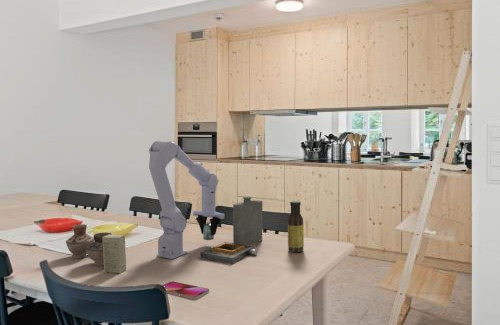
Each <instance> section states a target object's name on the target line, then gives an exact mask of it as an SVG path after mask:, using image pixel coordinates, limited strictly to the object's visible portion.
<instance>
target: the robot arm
mask: <svg viewBox="0 0 500 325" xmlns="http://www.w3.org/2000/svg"><path fill="white" fill-rule="evenodd" d="M148 153H149V160H148V161H149V164H148V168H149V172H150V175H151V179H152V182H153V184H154V187H155V191H156V195H157V198H158V201H159V205H160V207H161V210H160V211H159V217H160V218H159V225H160V227H161V228H162V230H163V233H162V234H161V235H160V236H159V237H158V239H157V254H156V257H159V258H166V259H171V260H174V259H176V258H178V257H181V256H183V255H186V254H188V251H186V250H184V246H183V245H184V238H183V236H184V230H185V229H186V228H187V219H186V217H185V216H184V215H183V213H182V211H181V209H180V208H178V207H177V204H176V201H175V198H174V194H173V190H172V187H171V183H170V180H169V177H168V174H167V170H166V167H167V166H168V165H169V164H170V162H172V160H174V159H175V160H176V161H178V163H180V164H181V165H183V166H184V167H186V168H187V169H188V173H189V175H191V176H192V177H193V178H194V179H196V180H197V181H198V184H199V186H201V210H193V211H192V216H194V217H196V218H195V220H196V222H197V223H198V226H199V228H200V232H201V234H202V235H203V224H207V222H208V218H209V222H210V224H211V235H214V236H216V235H217V229H218V227H219V224H220V222H221V220H224V219H225V218H226V217H225V215H226V214H225V213H222V212H219V211H216V191H217V187H218V184H219V179H218V177H217V175H216V174H214V173H211V172H210V169H207V168H206V167H204V166H203V162H198V161H195V162H194V161H193V160H192V158H191V157H189V155H187V154H186V152H185V151H183V150H182V148H181V147H180V145H179V144H177V143H176V142H174V141H173V140H172V141H171V140H169V141H161V140H156V141H154V142H153V143H152V144H151V145H150V147H149V149H148Z"/></svg>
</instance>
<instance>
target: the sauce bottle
mask: <svg viewBox="0 0 500 325" xmlns="http://www.w3.org/2000/svg"><path fill="white" fill-rule="evenodd" d="M289 204H290V214H289V216H288V218H287V246H288V252H290V253H301V252H303V251H304V246H305V244H304V241H305V240H304V236H305V234H304V217H303V216H302V214H301V201H298V200H291V201H290V202H289Z"/></svg>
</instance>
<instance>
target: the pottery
mask: <svg viewBox="0 0 500 325" xmlns="http://www.w3.org/2000/svg"><path fill="white" fill-rule="evenodd" d="M87 226H88V225H87V224H82V223H80V224H75V225H72V230H73V235H72V236H70V237H69V238H68V239H66V240H65V243H66V247H67V248H68V251H69V252H70V253H71V254H72V256H71V258H72V259H83V258H87V257H89V259H90V260H92V261H93V262H94V263H93V264H94V266H96V265H98V266H97V267H104V266H103V265H104V261H103V240H102V237H104V236H107V235H109V234H111V235H113V233H112V232H98V233H94V234H93V236H91V235H89V234H87V228H88V227H87ZM86 254H88V256H87V255H86Z"/></svg>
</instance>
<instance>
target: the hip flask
mask: <svg viewBox="0 0 500 325" xmlns="http://www.w3.org/2000/svg"><path fill="white" fill-rule="evenodd" d="M242 199H243V202H237V203H233V205H232V206H233V208H232V211H233V212H232V214H233V215H232V219H233V222H232V223H233V225H232V226H233V227H232V232H233V236H232V237H233V238H232V241H233V242H232V243H237V244H244V245H249V244H253V243H256V242H262V241H263V200H256V199H255V200H253V199H252V196H249V195H248V196H242Z"/></svg>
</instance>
